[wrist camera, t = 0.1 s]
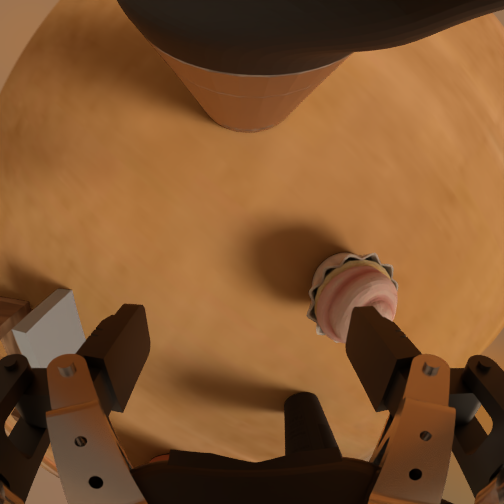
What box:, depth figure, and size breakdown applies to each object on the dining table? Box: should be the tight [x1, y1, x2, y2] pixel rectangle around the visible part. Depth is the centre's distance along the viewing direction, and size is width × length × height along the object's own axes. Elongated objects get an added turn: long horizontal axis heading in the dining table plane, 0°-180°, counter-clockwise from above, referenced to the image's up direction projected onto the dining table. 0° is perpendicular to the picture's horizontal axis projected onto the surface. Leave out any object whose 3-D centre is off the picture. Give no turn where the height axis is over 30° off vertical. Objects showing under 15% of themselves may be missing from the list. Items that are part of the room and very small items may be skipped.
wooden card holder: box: [0, 297, 31, 421], centre depth 27 cm, size 19×8×9 cm, turn 179°
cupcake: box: [307, 253, 398, 343], centre depth 24 cm, size 9×9×10 cm
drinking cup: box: [284, 392, 342, 457], centre depth 25 cm, size 8×8×20 cm
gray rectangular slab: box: [12, 289, 86, 368], centre depth 25 cm, size 12×2×10 cm, turn 179°
